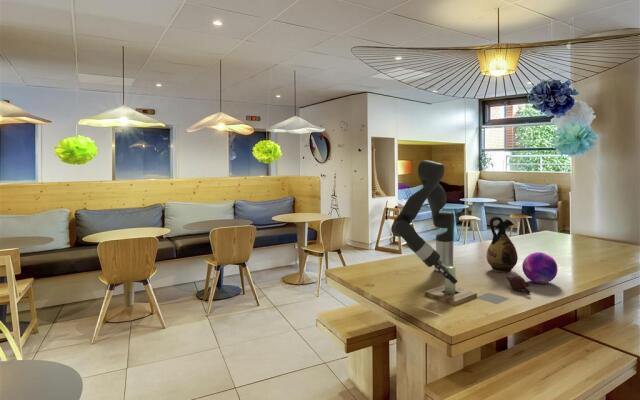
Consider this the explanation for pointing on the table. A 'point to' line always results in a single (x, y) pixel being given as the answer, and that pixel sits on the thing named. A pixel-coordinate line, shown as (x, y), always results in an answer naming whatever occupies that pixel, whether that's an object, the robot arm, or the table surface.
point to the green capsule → (448, 284)
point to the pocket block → (456, 299)
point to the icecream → (518, 283)
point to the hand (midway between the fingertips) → (454, 280)
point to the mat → (492, 298)
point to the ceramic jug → (501, 248)
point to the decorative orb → (539, 267)
